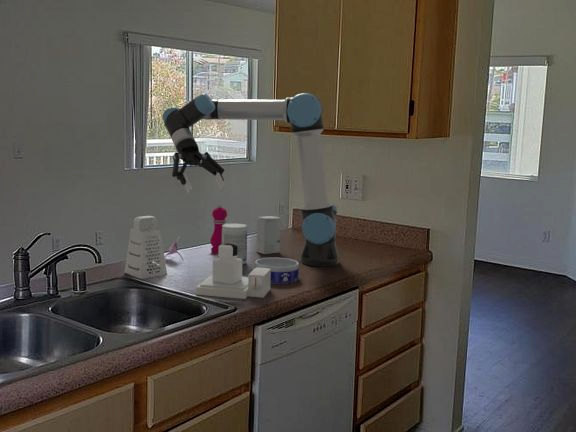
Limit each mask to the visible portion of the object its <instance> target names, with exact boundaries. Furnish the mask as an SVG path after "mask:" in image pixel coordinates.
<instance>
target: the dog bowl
mask: <svg viewBox="0 0 576 432" xmlns="http://www.w3.org/2000/svg"><path fill="white" fill-rule="evenodd" d="M256 267H257V268H270V269H271V281H270V285H271V284H273V285H275V284H276V285H284V284H285V285H286V284H287V285H288V284H291V283H295V282H297V281H298V280H299V270H300V269H299V268H300V264H299V262H298V261H297V260H295V259H291V258H288V257H287V258H286V257H262V258H258V259H256V260H255V261H254V269H255V268H256Z"/></svg>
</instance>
